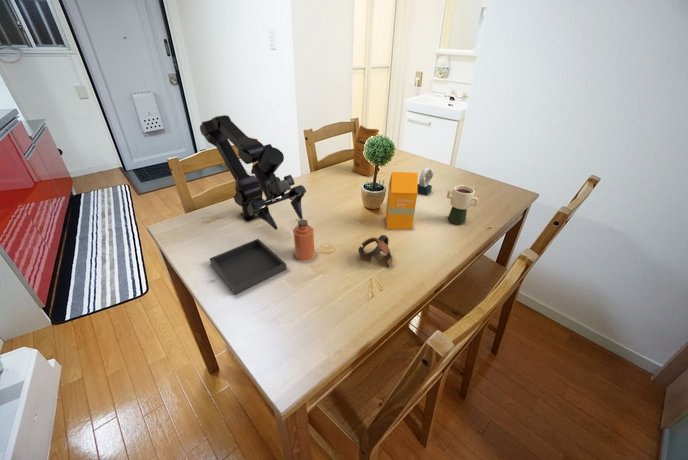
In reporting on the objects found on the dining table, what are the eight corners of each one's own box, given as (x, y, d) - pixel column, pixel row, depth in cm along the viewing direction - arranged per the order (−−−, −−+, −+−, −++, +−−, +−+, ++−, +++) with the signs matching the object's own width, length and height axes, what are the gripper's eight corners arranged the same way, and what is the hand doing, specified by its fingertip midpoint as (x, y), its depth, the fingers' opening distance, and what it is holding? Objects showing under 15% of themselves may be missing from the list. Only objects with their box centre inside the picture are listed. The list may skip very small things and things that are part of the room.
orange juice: (385, 217, 114) (390, 167, 103) (408, 218, 114) (416, 168, 103) (387, 229, 108) (392, 176, 97) (411, 229, 107) (420, 177, 96)
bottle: (292, 259, 93) (288, 224, 86) (301, 248, 97) (298, 215, 90) (309, 263, 91) (307, 229, 84) (318, 252, 96) (316, 218, 89)
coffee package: (363, 165, 159) (365, 122, 147) (381, 172, 151) (384, 127, 139) (349, 170, 153) (350, 126, 141) (367, 178, 145) (370, 131, 133)
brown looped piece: (389, 275, 88) (377, 256, 84) (363, 275, 94) (350, 257, 90) (401, 245, 95) (390, 226, 91) (376, 247, 101) (365, 229, 97)
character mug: (474, 222, 112) (483, 190, 105) (467, 230, 108) (476, 197, 101) (445, 212, 118) (452, 182, 111) (438, 220, 113) (445, 188, 106)
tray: (211, 265, 90) (209, 258, 88) (259, 245, 98) (257, 238, 97) (236, 296, 79) (234, 288, 78) (286, 271, 88) (286, 263, 86)
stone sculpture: (432, 190, 135) (437, 167, 129) (425, 197, 129) (429, 172, 123) (421, 187, 137) (424, 164, 131) (413, 193, 132) (416, 169, 126)
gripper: (245, 176, 83) (270, 226, 82) (301, 161, 93) (324, 205, 93) (237, 191, 92) (260, 237, 92) (289, 176, 103) (309, 217, 102)
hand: (289, 223), depth 94 cm, fingers open, 9 cm apart
